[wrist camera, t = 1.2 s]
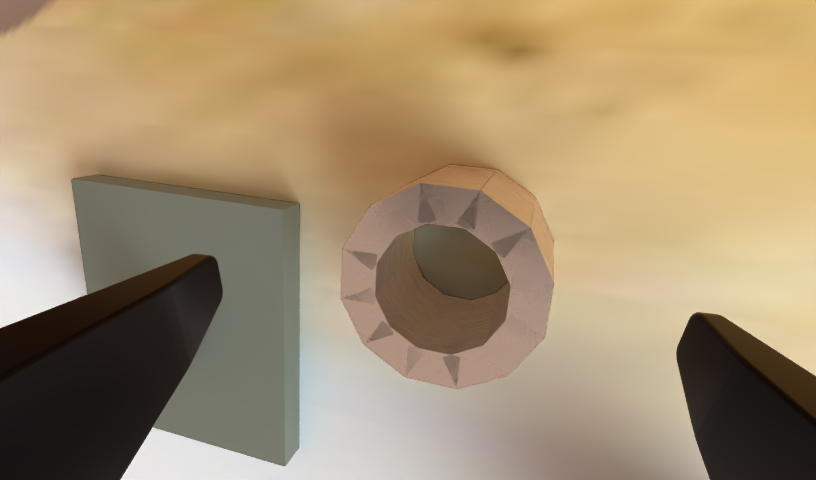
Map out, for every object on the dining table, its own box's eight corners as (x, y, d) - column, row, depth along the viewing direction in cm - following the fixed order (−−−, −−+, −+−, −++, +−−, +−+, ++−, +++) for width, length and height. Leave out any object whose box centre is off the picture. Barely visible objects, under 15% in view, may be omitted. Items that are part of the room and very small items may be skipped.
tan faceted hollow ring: (537, 339, 21) (532, 406, 16) (382, 309, 23) (338, 362, 18) (564, 176, 19) (568, 200, 14) (391, 157, 20) (344, 173, 16)
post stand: (299, 447, 26) (225, 548, 21) (125, 398, 29) (16, 473, 23) (299, 203, 22) (206, 240, 16) (97, 174, 25) (-44, 196, 19)
